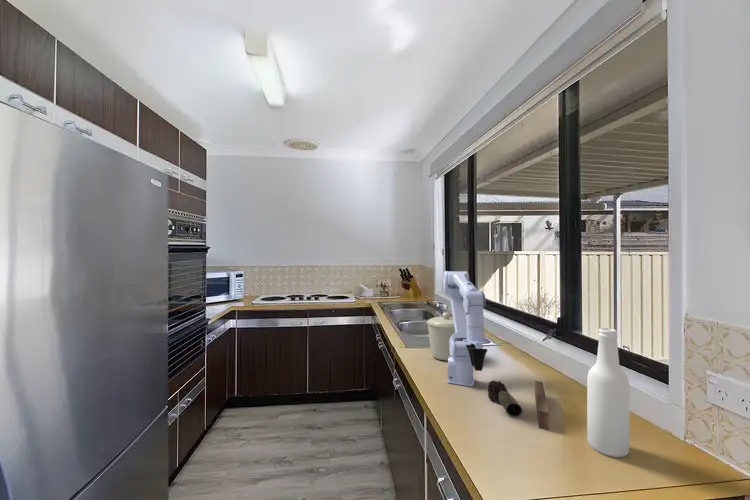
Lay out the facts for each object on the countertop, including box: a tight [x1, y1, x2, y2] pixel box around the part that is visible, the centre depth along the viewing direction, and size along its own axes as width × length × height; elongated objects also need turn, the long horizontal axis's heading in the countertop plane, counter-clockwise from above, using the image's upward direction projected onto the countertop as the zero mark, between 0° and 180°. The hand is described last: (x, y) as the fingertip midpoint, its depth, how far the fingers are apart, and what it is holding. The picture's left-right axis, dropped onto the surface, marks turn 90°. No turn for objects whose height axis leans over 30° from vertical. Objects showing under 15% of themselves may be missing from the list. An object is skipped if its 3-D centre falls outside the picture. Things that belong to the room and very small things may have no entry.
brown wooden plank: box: [534, 380, 550, 430], centre depth 106 cm, size 2×24×5 cm, turn 157°
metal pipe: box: [487, 380, 523, 418], centre depth 111 cm, size 18×7×6 cm, turn 178°
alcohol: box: [586, 327, 630, 458], centre depth 86 cm, size 9×9×30 cm
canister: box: [426, 312, 455, 362], centre depth 158 cm, size 18×18×21 cm
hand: (476, 368), depth 113 cm, fingers open, 7 cm apart
